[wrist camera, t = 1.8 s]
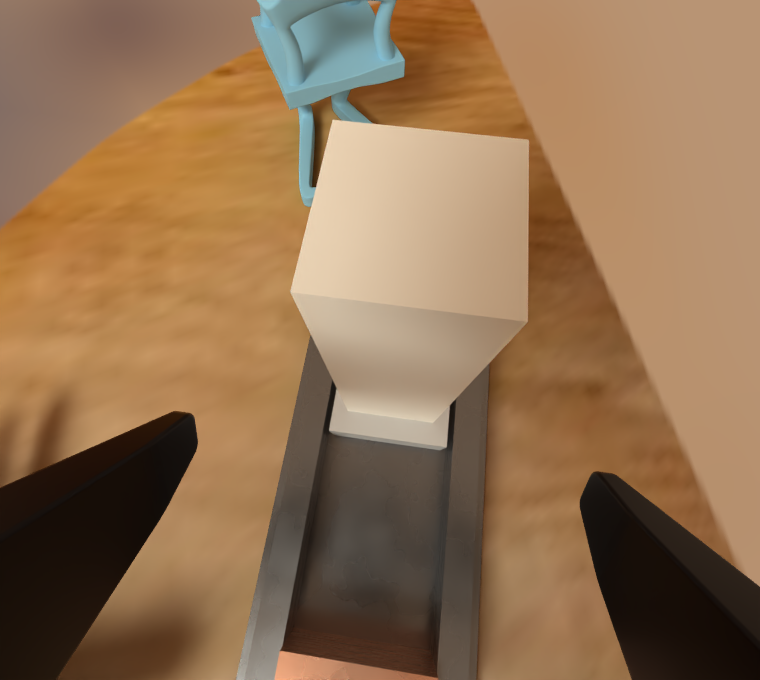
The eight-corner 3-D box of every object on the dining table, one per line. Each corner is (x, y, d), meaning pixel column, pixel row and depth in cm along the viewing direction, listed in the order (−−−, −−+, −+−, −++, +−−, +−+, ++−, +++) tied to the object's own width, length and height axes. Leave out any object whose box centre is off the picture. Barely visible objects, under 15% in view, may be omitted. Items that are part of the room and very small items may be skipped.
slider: (440, 450, 19) (573, 386, 6) (334, 435, 19) (234, 341, 6) (449, 339, 21) (562, 107, 8) (353, 326, 21) (309, 82, 8)
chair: (368, 95, 29) (360, -154, 18) (413, 174, 26) (437, -61, 15) (270, 123, 28) (194, -122, 16) (306, 209, 25) (244, -14, 14)
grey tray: (471, 715, 16) (490, 766, 13) (240, 674, 16) (211, 715, 14) (488, 324, 22) (504, 302, 19) (319, 303, 23) (311, 278, 20)
